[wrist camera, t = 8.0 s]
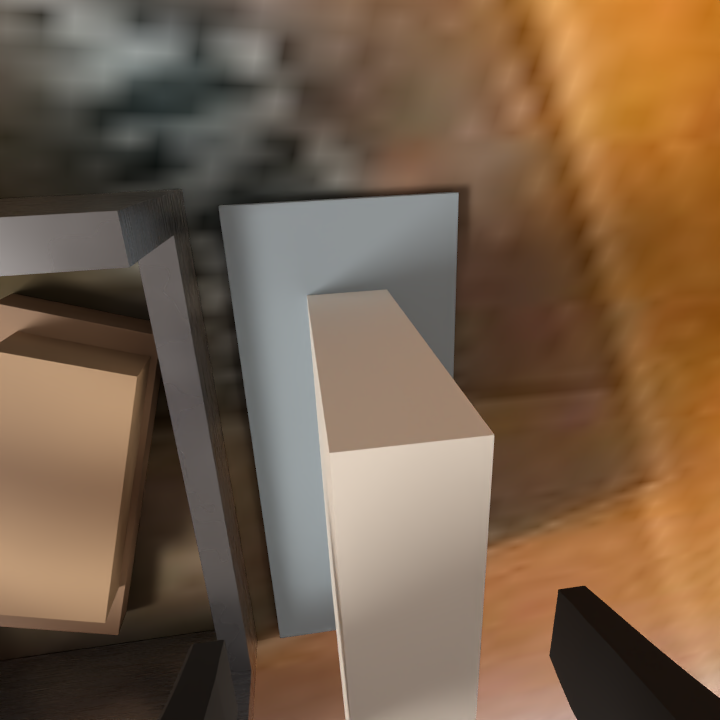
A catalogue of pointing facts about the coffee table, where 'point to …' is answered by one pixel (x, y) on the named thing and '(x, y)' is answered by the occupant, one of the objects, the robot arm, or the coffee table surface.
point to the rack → (193, 439)
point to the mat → (294, 356)
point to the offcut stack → (71, 461)
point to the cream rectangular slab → (400, 511)
